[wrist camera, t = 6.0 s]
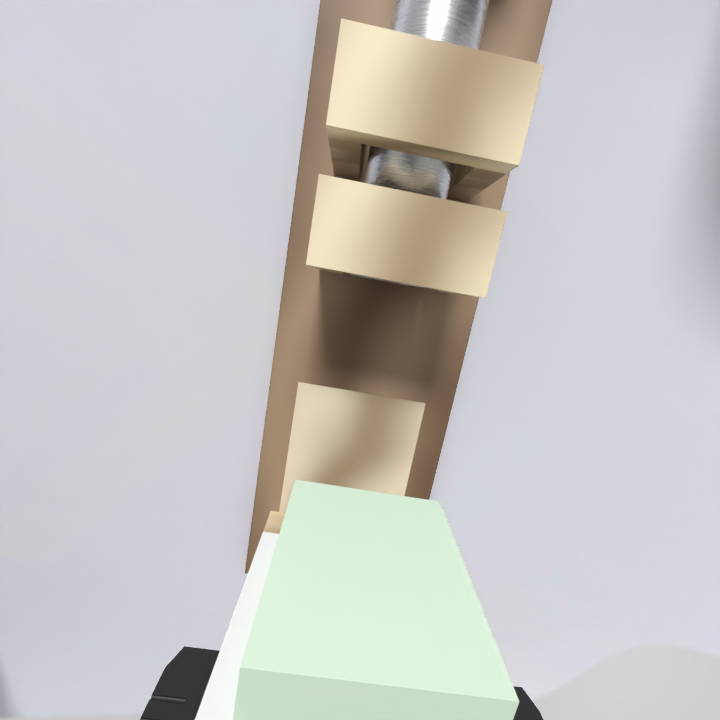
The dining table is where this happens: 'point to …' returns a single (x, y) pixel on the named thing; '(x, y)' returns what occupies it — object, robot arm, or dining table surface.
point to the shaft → (443, 23)
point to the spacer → (369, 618)
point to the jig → (389, 248)
